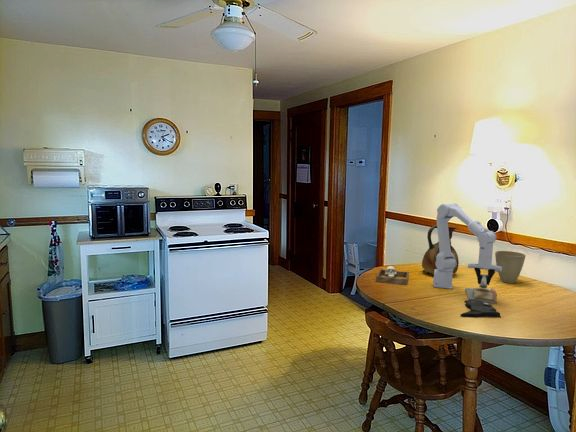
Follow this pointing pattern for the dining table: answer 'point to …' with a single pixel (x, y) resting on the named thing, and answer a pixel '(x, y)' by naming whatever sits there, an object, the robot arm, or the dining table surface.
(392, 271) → the skull
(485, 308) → the stone slab
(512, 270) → the plant pot
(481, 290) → the wooden square ring
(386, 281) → the coaster frame
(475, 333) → the dining table surface
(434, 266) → the ceramic pitcher
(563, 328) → the dining table surface
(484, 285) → the peg
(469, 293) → the board
